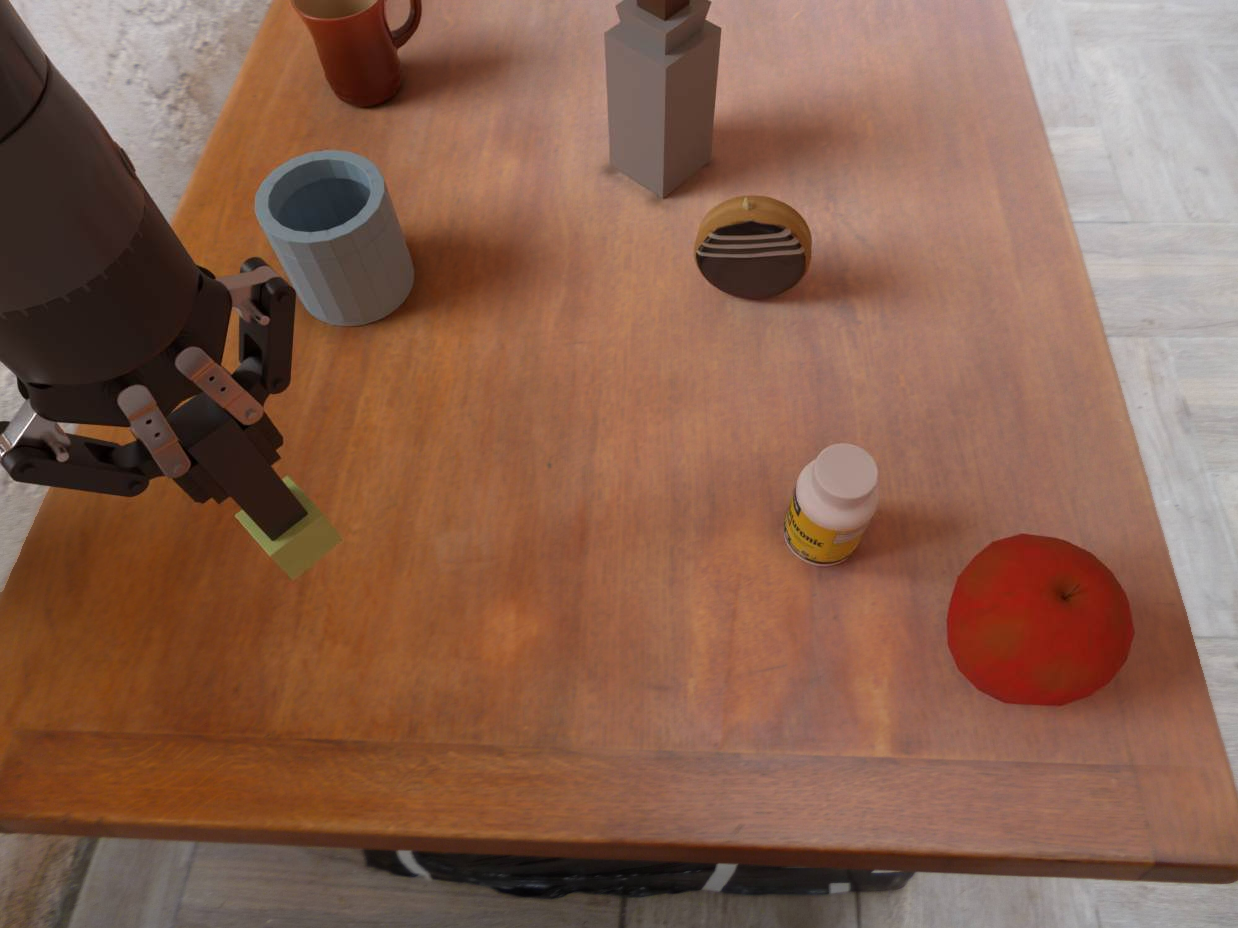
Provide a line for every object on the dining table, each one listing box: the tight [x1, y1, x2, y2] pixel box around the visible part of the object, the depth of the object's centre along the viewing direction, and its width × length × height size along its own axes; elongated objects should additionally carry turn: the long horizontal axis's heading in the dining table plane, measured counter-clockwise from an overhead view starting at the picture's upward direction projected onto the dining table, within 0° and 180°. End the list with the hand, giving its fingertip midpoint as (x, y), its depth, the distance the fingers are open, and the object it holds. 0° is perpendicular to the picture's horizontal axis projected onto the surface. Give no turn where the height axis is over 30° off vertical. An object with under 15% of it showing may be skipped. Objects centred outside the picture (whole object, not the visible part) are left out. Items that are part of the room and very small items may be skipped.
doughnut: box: [693, 194, 813, 300], centre depth 69 cm, size 9×4×10 cm, turn 79°
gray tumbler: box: [254, 149, 416, 327], centre depth 70 cm, size 10×10×10 cm
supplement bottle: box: [782, 442, 880, 567], centre depth 57 cm, size 5×5×10 cm
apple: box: [946, 533, 1136, 707], centre depth 52 cm, size 10×10×12 cm
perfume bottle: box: [603, 0, 722, 199], centre depth 73 cm, size 7×7×18 cm
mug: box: [290, 0, 423, 108], centre depth 83 cm, size 12×9×10 cm
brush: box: [165, 391, 344, 581], centre depth 45 cm, size 4×4×14 cm
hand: (240, 470), depth 43 cm, fingers closed on brush, 2 cm apart
